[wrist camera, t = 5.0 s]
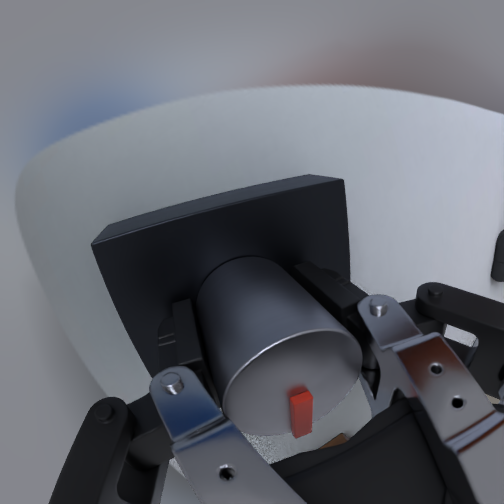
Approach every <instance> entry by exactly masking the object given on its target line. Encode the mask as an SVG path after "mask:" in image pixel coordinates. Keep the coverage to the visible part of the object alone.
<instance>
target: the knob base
mask: <svg viewBox="0 0 504 504" xmlns="http://www.w3.org/2000/svg"><path fill="white" fill-rule="evenodd" d="M91 247H92V250H93V253H94V256H95V258H96V261H97V264H98V266H99V269H100V272H101V274H102V277H103V279H104V282H105V284H106V287H107V289H108V291H109V294H110V296H111V298H112V301H113V303H114V305H115V308H116V310H117V312H118V314H119V316H120V318H121V321H122V323H123V325H124V327H125V329H126V331H127V333H128V335H129V337H130V339H131V341H132V343H133V345H134V347H135V348H136V350H137V352H138V354H139V356H140V358H141V360H142V361H143V363H144V365H145V367H146V369H147V370H148V372H149V374H150V375H151V377H152V379H153V378H154V376H155V375H156V374H158V327H159V326H160V324H161V322H162V320H163V319H167V318H170V317H173V311H172V303H176V302H179V301H182V300H186V299H189V298H190V299H191V301H192V303H193V306H194V309H195V312H196V302H197V297H198V293H199V291H200V288H201V286H202V285H203V283H204V281H205V280H206V279H207V278H208V276H209V275H210V274H211V273H212V272H213V271H214V270H216V269H217V268H218V267H220V266H221V265H223V264H225V263H227V262H229V261H231V260H234V259H238V258H242V257H261V258H265V259H268V260H271V261H273V262H275V263H276V264H278V265H279V266H280V267H282V268H283V269H284V270H285V271H286V272H287V273H288V274H289V275H290V276H291V277H292V274H291V268H292V266H295V265H298V264H301V263H304V262H307V261H311V262H312V263H313V264H315V265H316V266H317V267H319V268H320V269H323V268H326V269H329V270H333V271H336V272H337V273H339V274H340V275H341V276H343V278H346V279H347V280H348V281H349V282H350V252H349V233H348V218H347V206H346V195H345V185H344V180H343V179H339V178H333V177H326V176H319V175H311V174H308V175H303V176H297V177H292V178H287V179H282V180H277V181H272V182H268V183H263V184H258V185H254V186H249V187H245V188H240V189H236V190H232V191H228V192H224V193H219V194H215V195H211V196H207V197H203V198H199V199H196V200H192V201H188V202H184V203H181V204H177V205H173V206H170V207H166V208H163V209H159V210H156V211H152V212H149V213H145V214H142V215H139V216H135V217H132V218H129V219H126V220H122V221H119V222H116V223H113V224H110V225H108V226H107V227H106V228H105V229H104V230H103V231H102V232H101V233H100V234H99V235H98V237H97V238H96V239H95V240H94V241H93V242H92V243H91ZM196 315H197V312H196Z"/></svg>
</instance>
